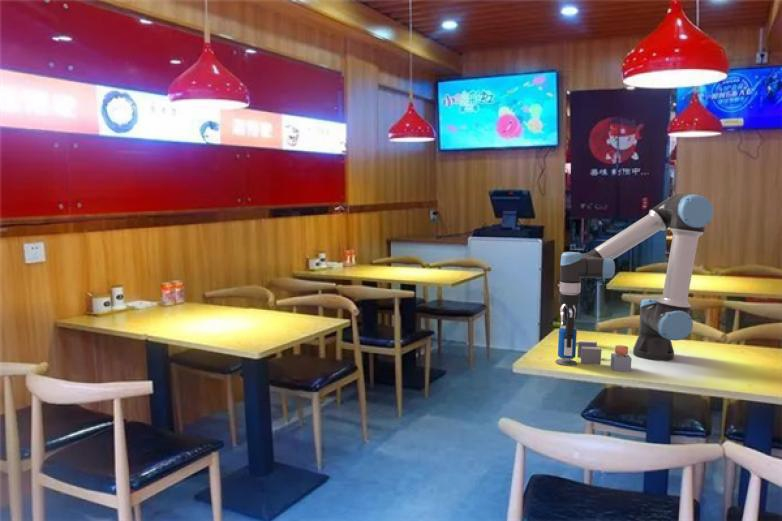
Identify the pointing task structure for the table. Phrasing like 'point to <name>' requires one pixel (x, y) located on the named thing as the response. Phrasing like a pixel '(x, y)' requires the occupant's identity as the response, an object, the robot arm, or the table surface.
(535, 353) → the table surface
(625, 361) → the block
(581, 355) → the cradle
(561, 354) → the beverage can
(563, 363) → the pad
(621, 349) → the plunger
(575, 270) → the robot arm
